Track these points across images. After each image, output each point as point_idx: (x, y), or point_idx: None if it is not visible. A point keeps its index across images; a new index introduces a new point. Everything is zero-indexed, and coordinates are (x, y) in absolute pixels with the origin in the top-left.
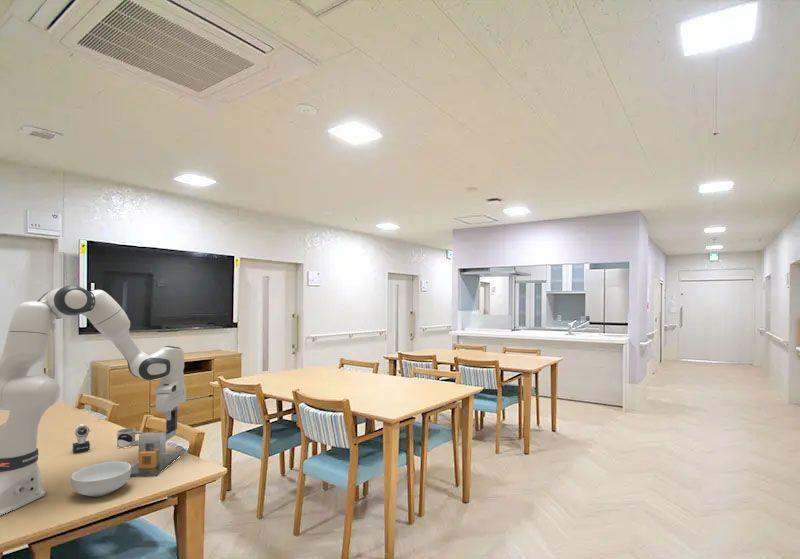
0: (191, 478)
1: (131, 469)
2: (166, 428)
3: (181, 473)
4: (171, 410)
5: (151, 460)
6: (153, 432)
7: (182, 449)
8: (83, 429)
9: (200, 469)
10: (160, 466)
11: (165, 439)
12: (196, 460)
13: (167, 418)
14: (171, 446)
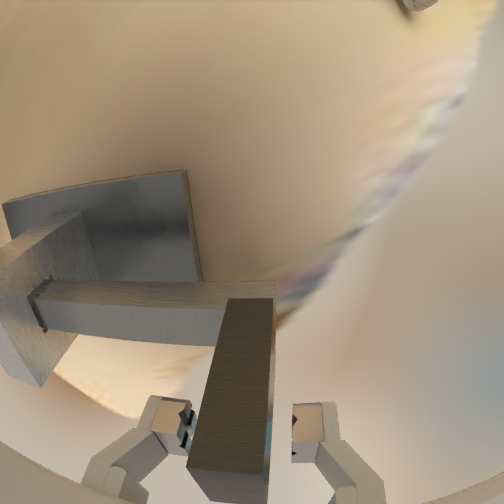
0: (73, 377)
1: (26, 210)
2: (226, 310)
3: (83, 354)
4: (223, 488)
5: None
6: (7, 335)
7: (313, 276)
8: None
9: (121, 387)
10: None
11: (58, 361)
12: (180, 368)
13: (150, 414)
14: (370, 196)
